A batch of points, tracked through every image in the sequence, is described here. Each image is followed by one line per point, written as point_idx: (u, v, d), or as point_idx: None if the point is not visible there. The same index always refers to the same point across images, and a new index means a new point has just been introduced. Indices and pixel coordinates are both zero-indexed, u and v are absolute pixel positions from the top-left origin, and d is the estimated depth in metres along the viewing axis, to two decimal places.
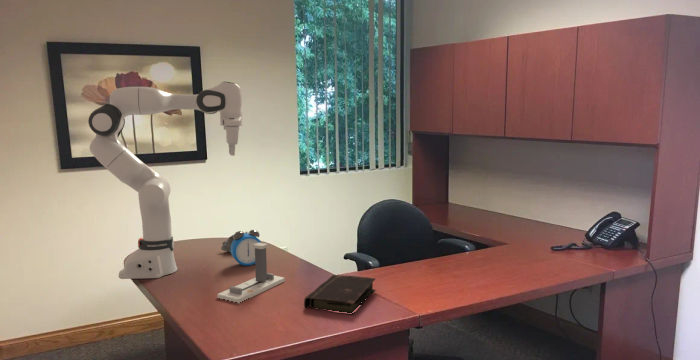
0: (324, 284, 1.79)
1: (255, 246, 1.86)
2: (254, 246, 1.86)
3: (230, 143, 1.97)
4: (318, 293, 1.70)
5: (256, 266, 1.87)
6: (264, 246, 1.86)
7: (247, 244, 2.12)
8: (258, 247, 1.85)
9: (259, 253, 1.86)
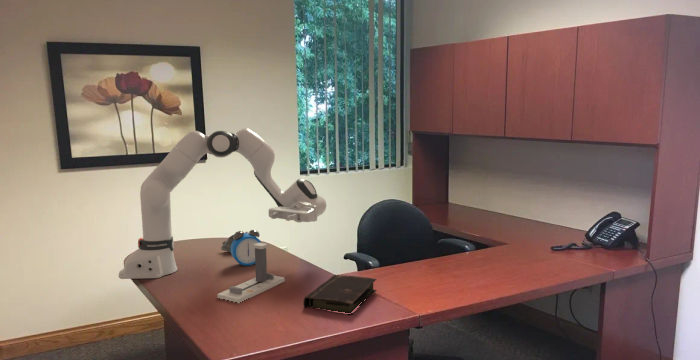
0: (324, 284, 1.79)
1: (255, 246, 1.86)
2: (254, 246, 1.86)
3: (307, 215, 1.96)
4: (318, 293, 1.70)
5: (256, 266, 1.87)
6: (264, 246, 1.86)
7: (247, 244, 2.12)
8: (258, 247, 1.85)
9: (259, 253, 1.86)
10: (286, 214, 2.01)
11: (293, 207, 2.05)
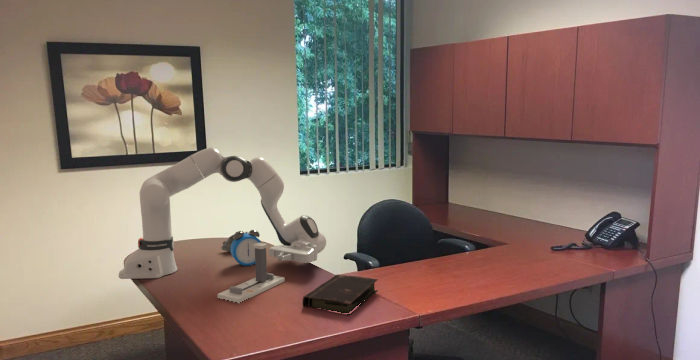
0: (325, 284, 1.79)
1: (255, 246, 1.86)
2: (254, 246, 1.86)
3: (307, 256, 1.98)
4: (317, 292, 1.70)
5: (256, 266, 1.87)
6: (264, 246, 1.86)
7: (247, 244, 2.12)
8: (258, 247, 1.85)
9: (259, 253, 1.86)
10: None
11: (293, 246, 2.07)
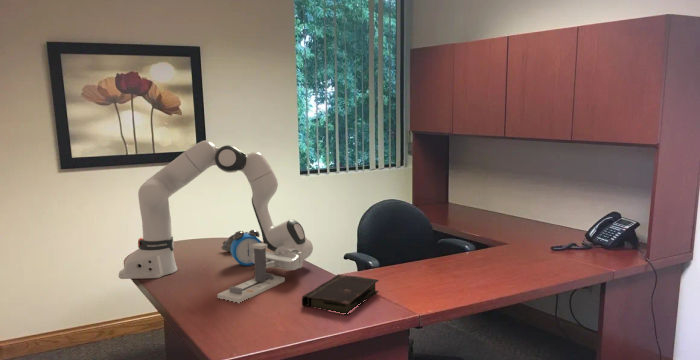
0: (326, 283, 1.79)
1: (254, 246, 1.85)
2: (253, 246, 1.86)
3: (291, 263, 1.89)
4: (317, 292, 1.71)
5: (255, 266, 1.87)
6: (263, 246, 1.85)
7: (247, 244, 2.12)
8: (257, 247, 1.85)
9: (258, 253, 1.85)
10: None
11: (277, 253, 1.98)
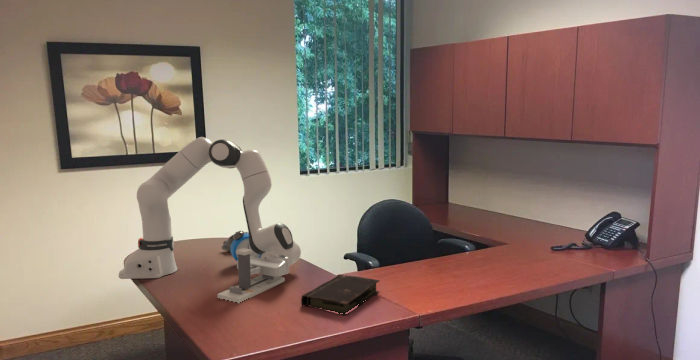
0: (326, 283, 1.79)
1: (238, 252, 1.78)
2: (237, 252, 1.78)
3: (277, 270, 1.81)
4: (316, 292, 1.71)
5: (239, 273, 1.79)
6: (247, 252, 1.78)
7: (247, 244, 2.12)
8: (241, 253, 1.77)
9: (242, 259, 1.78)
10: None
11: (263, 258, 1.91)
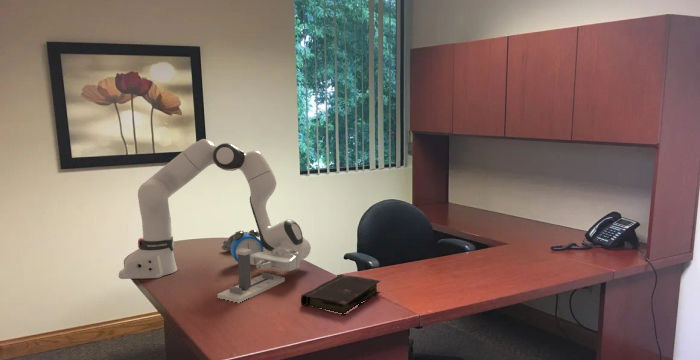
0: (327, 283, 1.80)
1: (238, 252, 1.78)
2: (237, 252, 1.78)
3: (288, 264, 1.86)
4: (316, 291, 1.71)
5: (239, 273, 1.79)
6: (247, 252, 1.78)
7: (247, 244, 2.12)
8: (241, 253, 1.77)
9: (242, 259, 1.78)
10: (266, 262, 1.92)
11: (274, 253, 1.96)
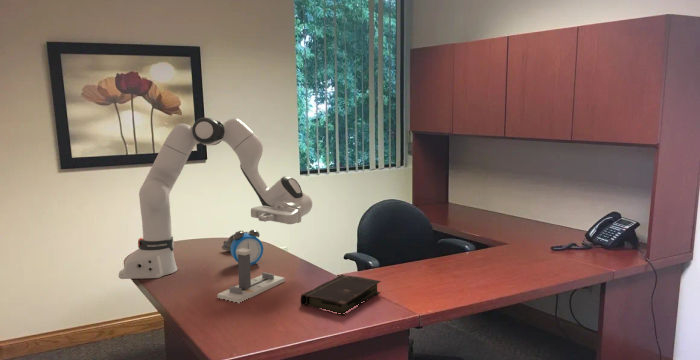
0: (327, 283, 1.80)
1: (238, 252, 1.78)
2: (237, 252, 1.78)
3: (290, 217, 1.86)
4: (316, 291, 1.72)
5: (239, 273, 1.79)
6: (247, 252, 1.78)
7: (247, 244, 2.12)
8: (241, 253, 1.77)
9: (242, 259, 1.78)
10: (268, 215, 1.92)
11: (276, 207, 1.96)
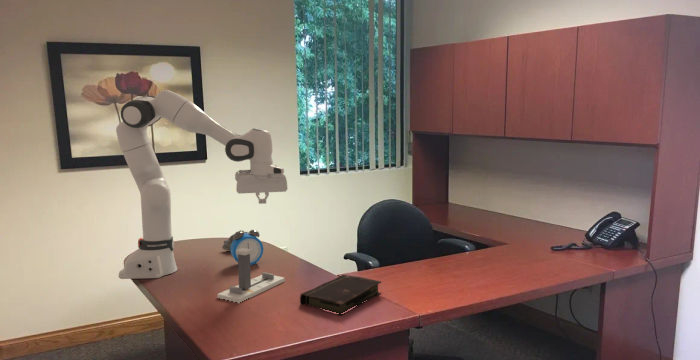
0: (328, 283, 1.80)
1: (238, 252, 1.78)
2: (237, 252, 1.78)
3: (286, 190, 2.00)
4: (316, 291, 1.72)
5: (239, 273, 1.79)
6: (247, 252, 1.78)
7: (247, 244, 2.12)
8: (241, 253, 1.77)
9: (242, 259, 1.78)
10: None
11: None
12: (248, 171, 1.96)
